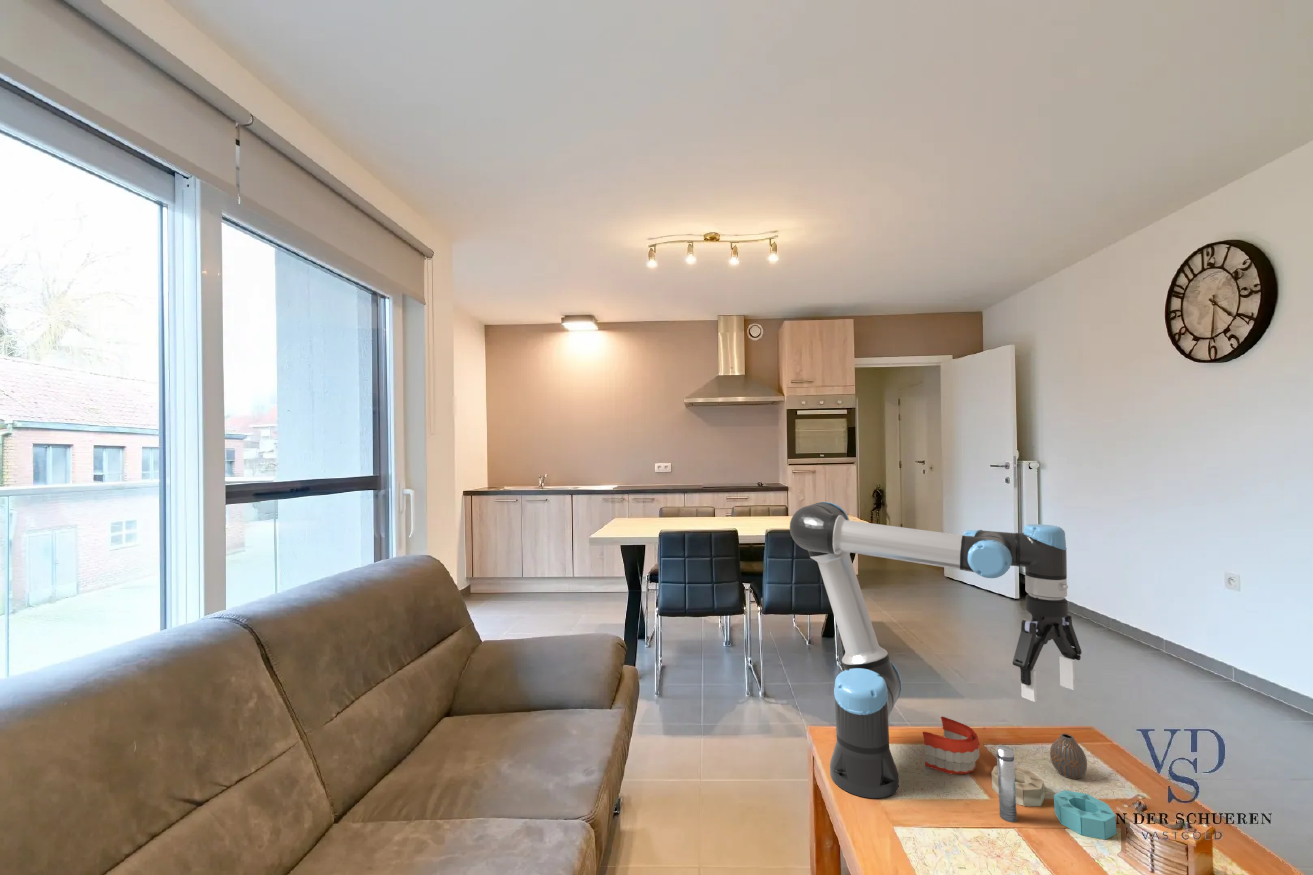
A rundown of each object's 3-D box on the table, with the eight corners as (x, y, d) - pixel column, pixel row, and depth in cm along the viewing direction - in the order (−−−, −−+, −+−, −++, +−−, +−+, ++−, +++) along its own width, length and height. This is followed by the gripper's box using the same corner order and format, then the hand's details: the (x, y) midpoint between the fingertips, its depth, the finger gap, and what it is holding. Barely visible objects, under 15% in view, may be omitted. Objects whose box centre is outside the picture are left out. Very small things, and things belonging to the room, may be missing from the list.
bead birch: (1011, 806, 116) (1011, 790, 116) (984, 781, 125) (983, 765, 125) (1053, 805, 116) (1053, 788, 116) (1023, 779, 125) (1022, 764, 125)
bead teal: (1065, 832, 108) (1064, 814, 108) (1050, 804, 116) (1049, 787, 116) (1122, 842, 104) (1121, 824, 105) (1102, 813, 113) (1101, 795, 113)
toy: (969, 785, 124) (967, 749, 124) (922, 766, 132) (921, 732, 132) (988, 763, 132) (986, 730, 132) (943, 747, 140) (942, 715, 140)
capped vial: (1001, 820, 112) (998, 751, 112) (997, 811, 114) (994, 743, 115) (1019, 823, 110) (1015, 753, 111) (1015, 814, 113) (1011, 745, 114)
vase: (1094, 784, 123) (1092, 744, 123) (1060, 781, 124) (1058, 742, 125) (1077, 766, 130) (1075, 729, 130) (1045, 764, 131) (1043, 727, 131)
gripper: (1027, 607, 111) (1030, 711, 110) (1098, 593, 121) (1101, 689, 120) (992, 598, 118) (994, 696, 117) (1062, 585, 128) (1064, 676, 127)
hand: (1048, 693), depth 119 cm, fingers open, 13 cm apart
